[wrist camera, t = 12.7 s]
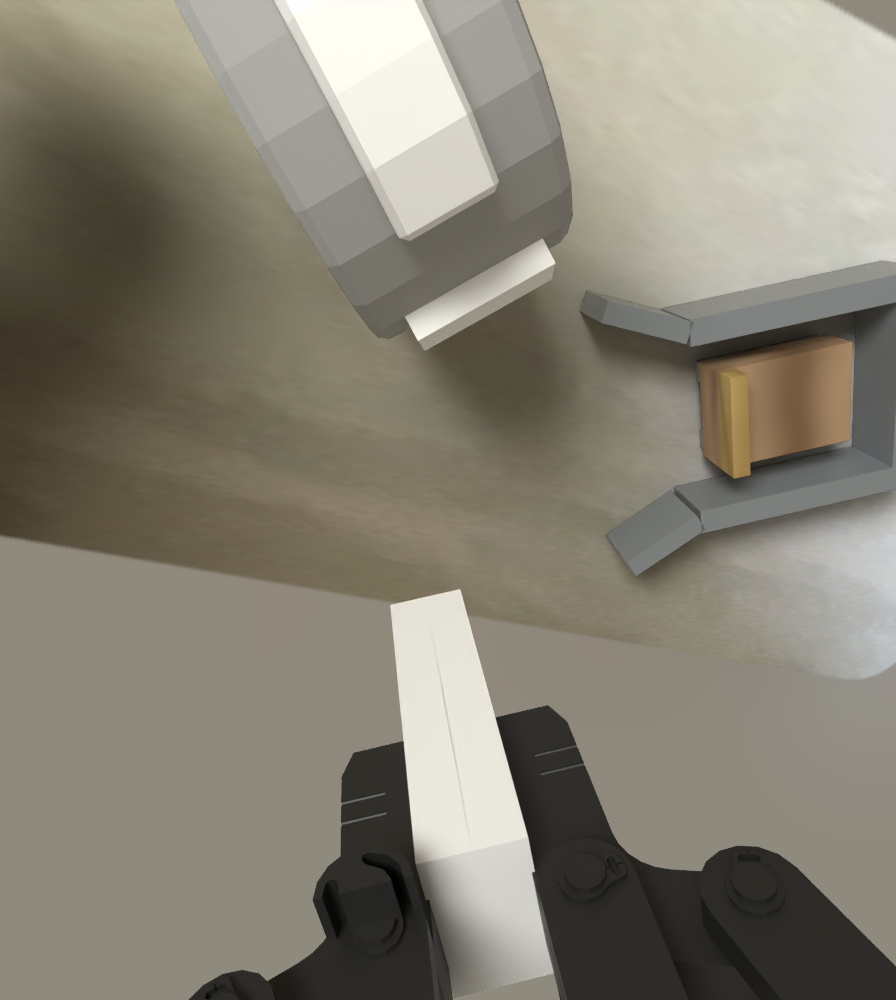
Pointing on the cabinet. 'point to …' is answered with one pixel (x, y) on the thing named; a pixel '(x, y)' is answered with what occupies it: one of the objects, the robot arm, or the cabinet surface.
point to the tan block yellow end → (774, 401)
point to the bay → (792, 484)
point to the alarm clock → (402, 146)
